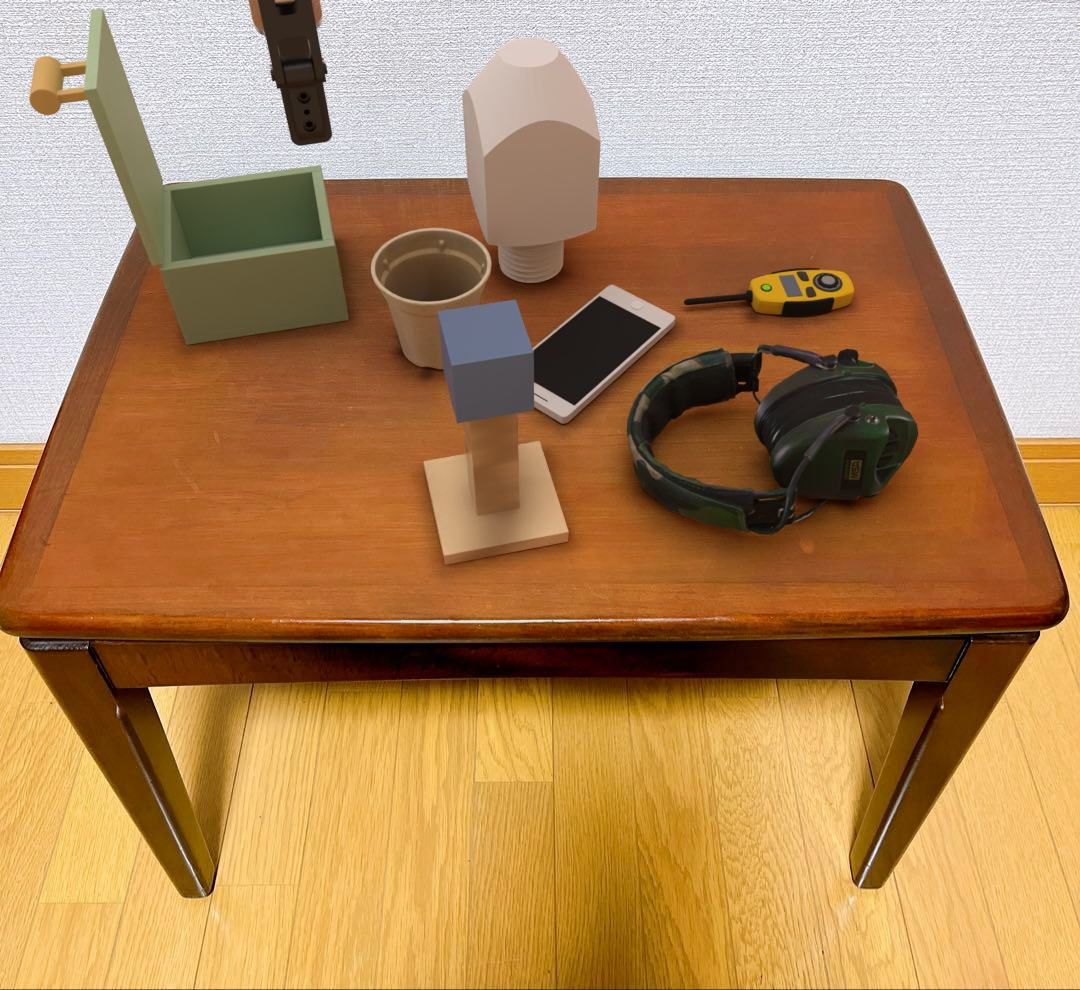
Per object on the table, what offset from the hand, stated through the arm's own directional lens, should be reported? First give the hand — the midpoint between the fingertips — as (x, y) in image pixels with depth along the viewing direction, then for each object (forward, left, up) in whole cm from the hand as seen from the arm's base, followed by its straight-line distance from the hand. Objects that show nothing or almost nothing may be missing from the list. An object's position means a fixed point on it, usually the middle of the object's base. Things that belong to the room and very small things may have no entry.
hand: (303, 100), depth 57 cm
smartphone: (+19, +5, -28) cm, 35 cm away
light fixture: (+17, +18, -28) cm, 38 cm away
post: (+8, -9, -28) cm, 31 cm away
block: (+8, -9, -16) cm, 20 cm away
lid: (-13, +20, -12) cm, 27 cm away
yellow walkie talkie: (+36, +8, -28) cm, 47 cm away
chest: (-7, +20, -28) cm, 35 cm away
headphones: (+28, -10, -28) cm, 41 cm away
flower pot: (+7, +9, -28) cm, 31 cm away
